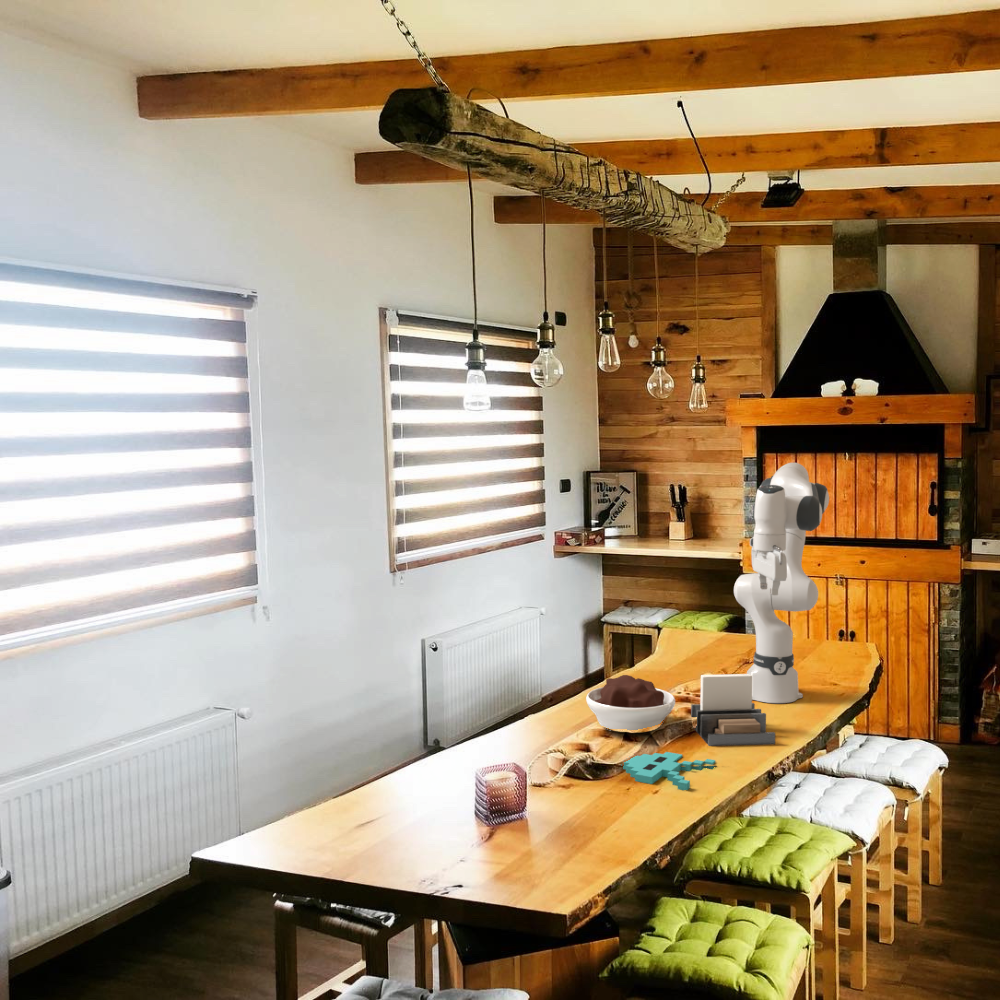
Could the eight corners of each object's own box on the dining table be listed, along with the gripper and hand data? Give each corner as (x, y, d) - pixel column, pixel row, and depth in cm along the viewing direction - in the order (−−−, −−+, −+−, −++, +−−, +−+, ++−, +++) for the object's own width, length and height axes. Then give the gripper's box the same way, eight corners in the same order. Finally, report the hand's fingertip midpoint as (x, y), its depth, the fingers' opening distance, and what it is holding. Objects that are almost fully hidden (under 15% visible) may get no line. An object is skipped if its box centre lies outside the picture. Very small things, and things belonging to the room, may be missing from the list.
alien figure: (715, 768, 280) (642, 755, 290) (715, 760, 280) (642, 747, 290) (686, 792, 263) (610, 778, 273) (686, 783, 263) (610, 769, 273)
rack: (690, 729, 312) (691, 704, 312) (753, 727, 314) (753, 702, 313) (708, 750, 293) (709, 723, 293) (774, 748, 295) (775, 722, 294)
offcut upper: (718, 728, 300) (718, 719, 300) (754, 727, 301) (754, 718, 301) (723, 734, 295) (723, 725, 295) (760, 733, 296) (760, 724, 296)
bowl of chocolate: (691, 727, 314) (691, 675, 313) (644, 748, 295) (645, 693, 293) (617, 711, 330) (617, 662, 329) (568, 731, 311) (568, 678, 309)
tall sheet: (700, 727, 310) (700, 674, 309) (748, 726, 311) (749, 673, 310) (702, 729, 308) (703, 677, 306) (751, 728, 309) (752, 676, 307)
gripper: (793, 548, 300) (792, 598, 301) (769, 538, 320) (768, 585, 321) (770, 548, 299) (769, 598, 300) (747, 538, 319) (747, 586, 321)
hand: (768, 592), depth 311 cm, fingers open, 8 cm apart
